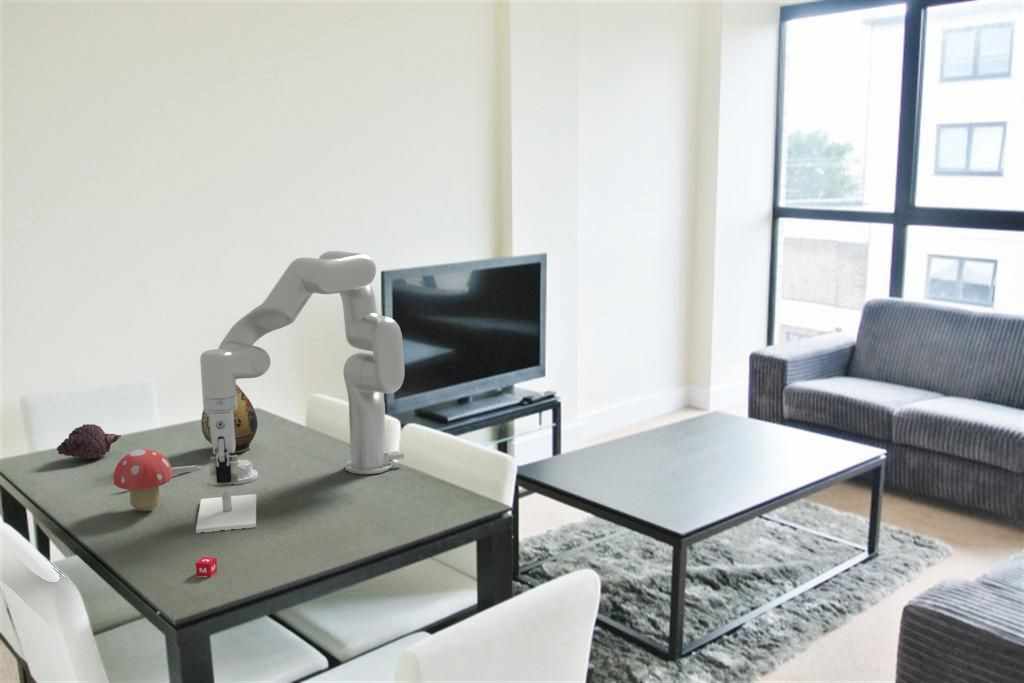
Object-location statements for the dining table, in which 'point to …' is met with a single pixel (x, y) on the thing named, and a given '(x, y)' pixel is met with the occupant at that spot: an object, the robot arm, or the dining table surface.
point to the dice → (206, 566)
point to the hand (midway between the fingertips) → (224, 476)
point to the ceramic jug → (237, 423)
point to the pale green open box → (234, 470)
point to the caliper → (185, 469)
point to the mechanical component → (246, 472)
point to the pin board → (227, 513)
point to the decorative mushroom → (143, 477)
